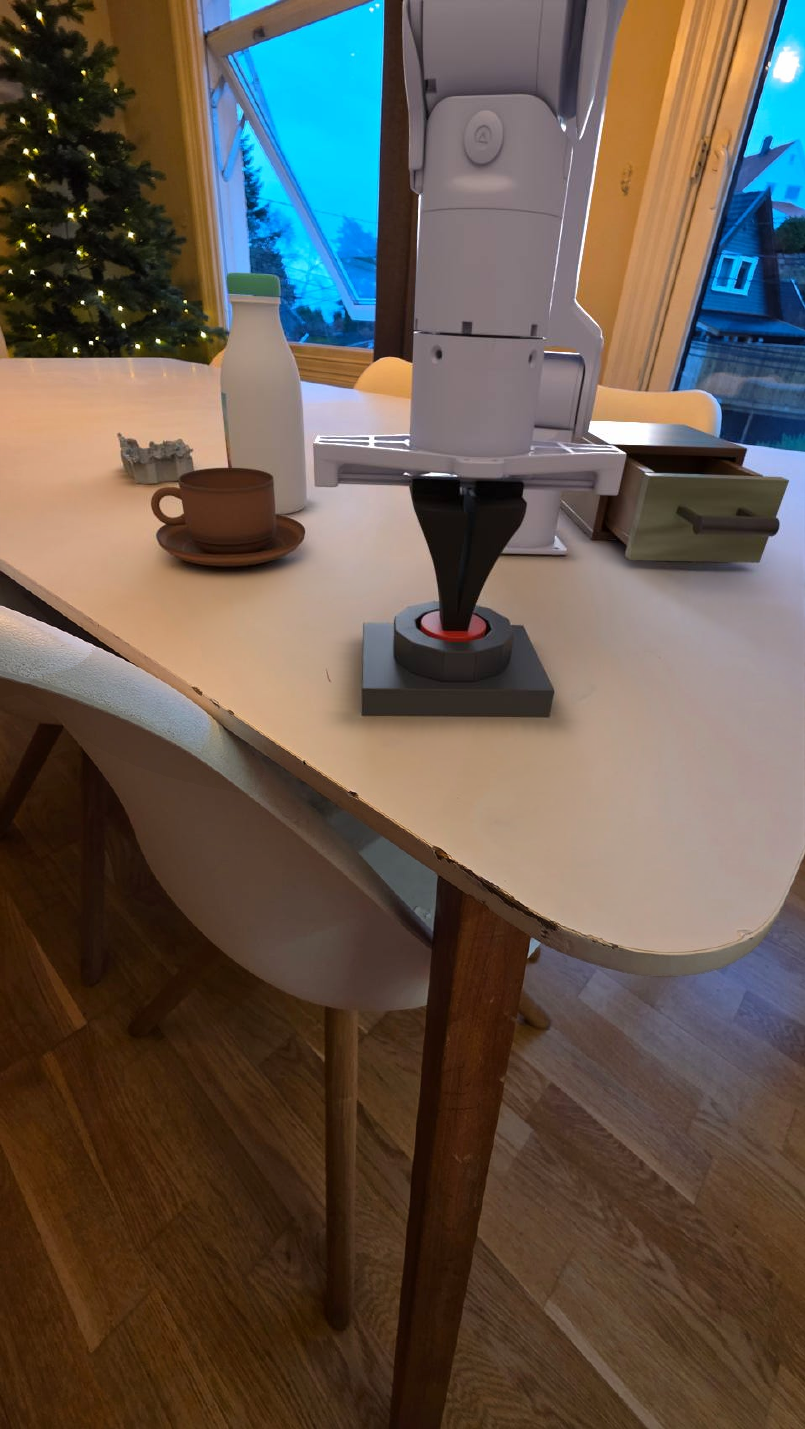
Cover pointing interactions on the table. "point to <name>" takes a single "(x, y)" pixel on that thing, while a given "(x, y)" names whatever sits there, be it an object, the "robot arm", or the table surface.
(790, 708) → the table surface
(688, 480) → the drawer
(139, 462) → the egg carton
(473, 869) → the table surface
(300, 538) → the cup and saucer
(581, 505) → the cabinet
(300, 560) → the table surface
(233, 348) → the milk bottle
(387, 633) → the control block
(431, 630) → the button
